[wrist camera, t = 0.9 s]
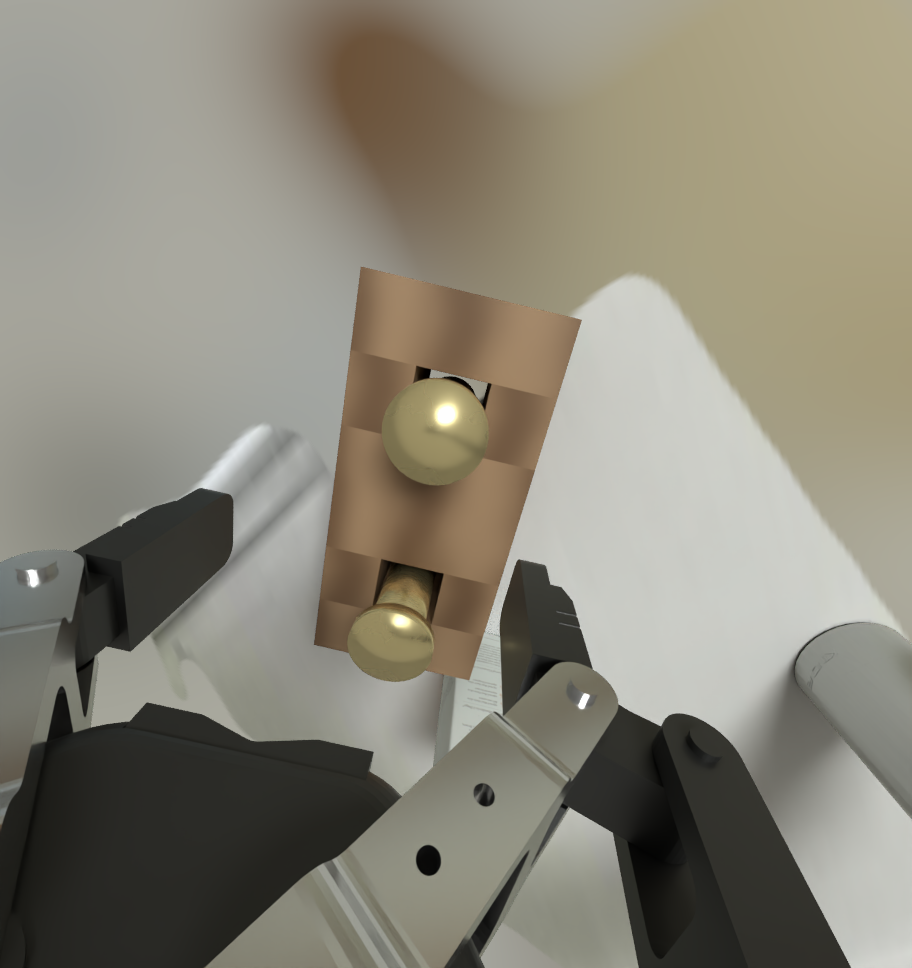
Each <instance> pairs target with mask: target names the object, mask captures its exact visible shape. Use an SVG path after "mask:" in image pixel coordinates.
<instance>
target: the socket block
mask: <svg viewBox="0 0 912 968" xmlns="http://www.w3.org/2000/svg"><path fill="white" fill-rule="evenodd" d="M581 321H582V320H580V319H576V318H572V317H568V316H564V315H559V314H555V313H551V312H547V311H543V310H538V309H535V308H530V307H526V306H522V305H518V304H514V303H509V302H505V301H501V300H497V299H493V298H489V297H485V296H481V295H476V294H472V293H468V292H464V291H460V290H456V289H452V288H447V287H443V286H439V285H435V284H431V283H426V282H423V281H418V280H414V279H410V278H406V277H402V276H397V275H394V274H390V273H385V272H381V271H377V270H373V269H369V268H365V267H361V270H360V278H359V287H358V295H357V303H356V312H355V320H354V327H353V336H352V343H351V351H350V359H349V367H348V375H347V383H346V392H345V400H344V408H343V416H342V424H341V432H340V440H339V448H338V456H337V464H336V472H335V480H334V488H333V496H332V504H331V512H330V520H329V528H328V536H327V544H326V553H325V561H324V569H323V577H322V585H321V593H320V601H319V609H318V617H317V625H316V633H315V641H314V645H318V646H322V647H327V648H331V649H335V650H339V651H344V652H348V653H349V651H348V645H347V640H348V635H349V633H350V630H351V628H352V626H353V624H354V621H355V619H356V618H357V616H358V615H359V614H360V613H361V612H362V611H363V610H365V609H366V608H368V607H370V606H373V605H376V603H377V600H378V598H379V595H380V593H381V590H382V588H383V586H384V583H385V581H386V578H387V576H388V573H389V571H390V568H391V566H392V563H393V562H396V563H401V564H405V565H409V566H413V567H418V568H422V569H426V570H430V571H435V572H436V576H435V580H434V585H433V590H432V594H431V599H430V604H429V608H428V613H427V618H426V620H427V621H428V622H429V624H430V625H431V627H432V629H433V632H434V637H435V644H434V649H433V655H432V660H431V662H430V664H429V666H428V667H427V669H426V671H430V672H434V673H439V674H443V675H447V676H452V677H456V678H460V679H465V680H470V677H471V673H472V670H473V667H474V664H475V661H476V657H477V654H478V651H479V648H480V645H481V641H482V638H483V635H484V632H485V629H486V625H487V622H488V619H489V616H490V612H491V609H492V606H493V603H494V600H495V596H496V593H497V590H498V587H499V584H500V580H501V577H502V574H503V571H504V568H505V564H506V561H507V558H508V555H509V552H510V548H511V545H512V542H513V539H514V536H515V532H516V529H517V526H518V523H519V520H520V516H521V513H522V510H523V507H524V504H525V500H526V497H527V494H528V491H529V488H530V484H531V481H532V478H533V475H534V471H535V468H536V465H537V462H538V459H539V455H540V452H541V449H542V446H543V443H544V439H545V436H546V433H547V430H548V427H549V423H550V420H551V417H552V414H553V411H554V407H555V404H556V401H557V398H558V395H559V391H560V388H561V385H562V382H563V379H564V375H565V372H566V369H567V366H568V363H569V359H570V356H571V353H572V350H573V347H574V343H575V340H576V337H577V334H578V330H579V327H580V324H581ZM431 369H432V370H437V371H441V372H445V373H449V374H454V375H458V376H462V377H466V378H470V379H474V380H478V381H483V382H487V383H488V385H487V389H486V393H485V397H484V401H483V405H482V406H483V408H484V410H485V413H486V416H487V420H488V427H489V436H488V445H487V449H486V452H485V455H484V457H483V459H482V461H481V462H480V464H479V465H478V466H477V468H476V469H475V470H474V471H473V472H472V473H470V474H469V475H468V476H466V477H465V478H463V479H461V480H459V481H457V482H454V483H451V484H446V485H428V484H423V483H420V482H417V481H415V480H412V479H411V478H409V477H407V476H406V475H404V474H403V473H402V472H400V471H399V470H398V469H397V468H396V467H395V465H394V464H393V463H392V462H391V460H390V458H389V457H388V455H387V453H386V450H385V447H384V444H383V439H382V422H383V418H384V415H385V412H386V409H387V408H388V406H389V404H390V403H391V401H392V400H393V399H394V397H395V396H396V395H397V394H398V393H400V392H401V391H402V390H403V389H405V388H406V387H407V386H409V385H411V384H413V383H415V382H417V381H420V380H423V379H428V378H429V377H430V372H431Z"/></svg>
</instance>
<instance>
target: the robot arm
mask: <svg viewBox="0 0 912 968" xmlns="http://www.w3.org/2000/svg"><path fill="white" fill-rule="evenodd" d="M232 546H233V499H232V497H231V495H229V494H226V493H221V492H217V491H212V490H208V489H203V488H199V489H197V490H195V491H193V492H192V493H190V494H188V495H186V496H185V497H183V498H181V499H179V500H178V501H173V502H169V503H166V504H162V505H159V506H155V507H153V508H151V509H149V510H147V511H145V512H144V513H142V514H140V515H138V516H137V517H136V519H134V518H133V519H131V520H129V521H127V522H126V523H124V524H123V525H122V527H121V526H118V527H116V528H115V529H113V530H111V531H109V532H107V533H106V534H104V535H102V536H100V537H98V538H97V539H95V540H93V541H91V542H90V543H88V544H86V545H84V546H82V547H80V548H79V549H77V550H75V551H73V552H72V551H67V550H41V551H34V552H29V553H24V554H21V555H17V556H14V557H11V558H9V559H7V560H4V561H2V562H0V968H485V967H484V965H483V963H482V961H481V956H482V954H483V953H484V951H485V950H486V948H487V946H488V945H489V943H490V942H491V940H492V938H493V937H494V935H495V933H496V932H497V930H498V928H499V926H500V925H501V923H502V921H503V920H504V918H505V916H506V914H507V913H508V911H509V909H510V907H511V905H512V904H513V902H514V900H515V898H516V896H517V894H518V893H519V891H520V889H521V887H522V885H523V884H524V882H525V880H526V879H527V877H528V875H529V874H530V872H531V870H532V869H533V867H534V865H535V864H536V862H537V861H538V859H539V857H540V856H541V854H542V852H543V851H544V849H545V848H546V846H547V844H548V843H549V841H550V839H551V838H552V836H553V835H554V833H555V831H556V830H557V828H558V826H559V825H560V823H561V822H562V820H563V818H564V817H565V815H566V813H567V812H568V810H569V808H571V809H573V810H575V811H577V812H578V813H580V814H582V815H583V816H585V817H587V818H589V819H590V820H592V821H594V822H595V823H597V824H599V825H601V826H602V827H604V828H606V829H608V830H609V831H611V832H613V835H614V841H615V846H616V851H617V856H618V861H619V867H620V872H621V877H622V882H623V887H624V893H625V898H626V903H627V908H628V913H629V919H630V924H631V929H632V934H633V939H634V945H635V950H636V955H637V960H638V965H639V968H851V967H850V965H849V963H848V961H847V959H846V957H845V955H844V953H843V951H842V949H841V948H840V946H839V944H838V942H837V940H836V938H835V936H834V934H833V932H832V930H831V928H830V927H829V925H828V923H827V921H826V919H825V917H824V915H823V913H822V911H821V909H820V907H819V906H818V904H817V902H816V900H815V898H814V896H813V894H812V892H811V890H810V888H809V886H808V885H807V883H806V881H805V879H804V877H803V875H802V873H801V871H800V869H799V867H798V865H797V863H796V862H795V860H794V858H793V856H792V854H791V852H790V850H789V848H788V846H787V844H786V842H785V841H784V839H783V837H782V835H781V833H780V831H779V829H778V827H777V825H776V823H775V821H774V820H773V818H772V816H771V814H770V812H769V810H768V808H767V806H766V804H765V802H764V800H763V799H762V797H761V795H760V793H759V791H758V789H757V787H756V785H755V783H754V781H753V779H752V778H751V776H750V774H749V772H748V770H747V768H746V766H745V764H744V762H743V760H742V758H741V757H740V755H739V753H738V752H737V750H736V749H735V748H734V746H733V745H732V744H731V743H730V742H729V741H728V740H727V739H726V738H725V737H724V736H723V735H722V734H721V733H720V732H719V731H717V730H716V729H715V728H713V727H712V726H710V725H709V724H707V723H706V722H704V721H702V720H700V719H698V718H696V717H693V716H690V715H686V714H672V715H669V716H668V717H667V718H666V719H665V720H664V722H663V724H662V726H659V725H657V724H655V723H653V722H651V721H649V720H646V719H644V718H642V717H640V716H638V715H636V714H634V713H632V712H630V711H628V710H627V709H625V708H623V707H622V706H620V705H619V704H618V699H617V695H616V693H615V691H614V690H613V688H612V687H611V685H610V684H609V683H608V682H607V680H606V679H604V678H603V677H602V676H601V675H600V674H599V673H597V672H596V671H594V670H593V668H592V665H591V662H590V658H589V655H588V652H587V648H586V645H585V642H584V638H583V635H582V632H581V629H580V625H579V622H578V618H577V617H576V611H575V608H574V605H573V601H572V600H571V599H570V597H569V596H568V595H567V594H566V592H565V591H564V590H563V589H562V588H561V587H558V586H553V585H550V582H549V577H548V573H547V569H546V566H545V565H542V564H537V563H533V562H528V561H524V560H518V561H517V563H516V565H515V568H514V571H513V575H512V578H511V581H510V584H509V588H508V591H507V594H506V597H505V601H504V604H503V608H502V612H501V618H500V650H501V678H502V707H503V717H502V716H501V715H500V714H498V713H497V712H492V713H490V714H489V715H488V716H486V717H485V718H484V719H483V720H482V721H481V722H480V723H479V724H478V725H477V726H476V727H475V728H474V729H473V730H471V731H470V732H469V733H468V734H467V735H466V736H465V737H464V738H463V739H462V740H461V741H460V742H459V743H458V744H457V745H456V746H455V747H454V748H453V749H452V750H450V751H449V752H448V753H447V754H446V755H445V756H444V757H443V758H442V759H441V760H440V761H439V762H438V763H437V764H436V765H435V766H434V767H433V768H432V769H430V770H429V771H428V772H427V773H426V774H425V775H424V776H423V777H422V778H421V779H420V780H419V781H418V782H417V783H416V784H415V785H414V786H413V787H412V788H411V789H409V790H408V791H407V792H406V793H405V794H404V795H403V796H401V795H400V794H399V793H398V792H397V791H396V790H395V789H394V788H393V787H392V786H390V785H389V784H388V783H386V782H385V781H384V780H382V779H381V778H380V777H378V776H376V775H374V774H373V773H371V772H370V768H371V763H372V758H373V753H374V752H372V751H367V750H362V749H358V748H353V747H349V746H344V745H340V744H335V743H330V742H326V741H321V740H297V741H266V742H255V741H250V740H248V739H246V738H244V737H242V736H240V735H239V734H237V733H235V732H233V731H231V730H230V729H228V728H226V727H224V726H222V725H220V724H219V723H217V722H215V721H213V720H211V719H210V718H208V717H206V716H204V715H202V714H197V713H193V712H188V711H183V710H179V709H174V708H169V707H165V706H161V705H156V704H152V703H146V704H145V705H144V706H143V708H141V710H140V711H139V712H138V713H137V714H136V715H135V716H134V717H133V718H132V720H131V721H130V722H121V723H113V724H106V725H101V726H96V727H92V728H91V720H92V712H93V705H94V697H95V689H96V681H97V673H98V656H97V654H98V653H99V652H100V651H101V650H103V649H104V648H105V647H106V646H107V647H112V648H116V649H121V650H125V651H132V650H133V649H134V648H135V647H136V646H137V645H138V644H139V643H140V642H141V641H142V640H144V639H145V638H146V637H147V636H148V635H149V634H150V633H151V632H152V631H153V630H154V629H156V628H157V627H158V626H159V625H160V624H161V623H162V622H163V621H164V620H165V619H166V618H167V617H169V616H170V615H171V614H172V613H173V612H174V611H175V610H176V609H177V608H178V607H179V606H181V605H182V604H183V603H184V602H185V601H186V600H187V599H188V598H189V597H190V596H191V595H192V594H194V593H195V592H196V591H197V590H198V589H199V588H200V587H201V586H202V585H203V584H204V583H205V582H207V581H208V580H209V579H210V578H211V577H212V576H213V575H214V574H215V573H216V572H217V571H219V570H220V569H221V568H222V567H223V566H224V565H225V563H226V562H227V560H228V558H229V556H230V554H231V551H232ZM795 678H796V681H797V684H798V685H799V687H800V688H801V689H802V690H803V692H804V693H805V694H806V695H807V696H808V698H809V699H810V700H811V701H812V702H813V703H814V705H815V706H816V707H817V708H818V709H819V711H820V712H821V713H822V714H823V715H824V716H825V718H826V719H827V720H828V721H829V722H830V724H831V725H832V726H833V727H834V729H835V730H836V731H837V732H838V733H839V735H840V736H841V737H842V738H843V739H844V740H845V742H846V743H847V744H848V745H849V746H850V747H851V749H852V750H853V751H854V752H855V753H856V755H857V756H858V757H859V758H860V759H861V760H862V762H863V763H864V764H865V765H866V766H867V767H868V769H869V770H870V771H871V772H872V773H873V775H874V776H875V777H876V778H877V779H878V780H879V782H880V783H881V784H882V785H883V786H884V787H885V789H886V790H887V791H888V792H889V793H890V795H891V796H892V797H893V798H894V799H895V800H896V802H897V803H898V804H899V805H900V806H901V807H902V809H903V810H904V811H905V812H906V813H907V815H908V816H909V817H910V818H911V819H912V643H911V642H909V641H908V640H907V639H905V638H904V637H903V636H901V635H900V634H899V633H898V632H896V631H895V630H893V629H891V628H889V627H887V626H883V625H879V624H875V623H855V624H848V625H844V626H840V627H837V628H835V629H832V630H830V631H827V632H825V633H824V634H822V635H820V636H818V637H817V638H815V639H814V640H813V641H812V642H811V643H809V644H808V645H807V646H806V648H805V649H804V650H803V651H802V652H801V654H800V656H799V658H798V659H797V662H796V666H795Z"/></svg>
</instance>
